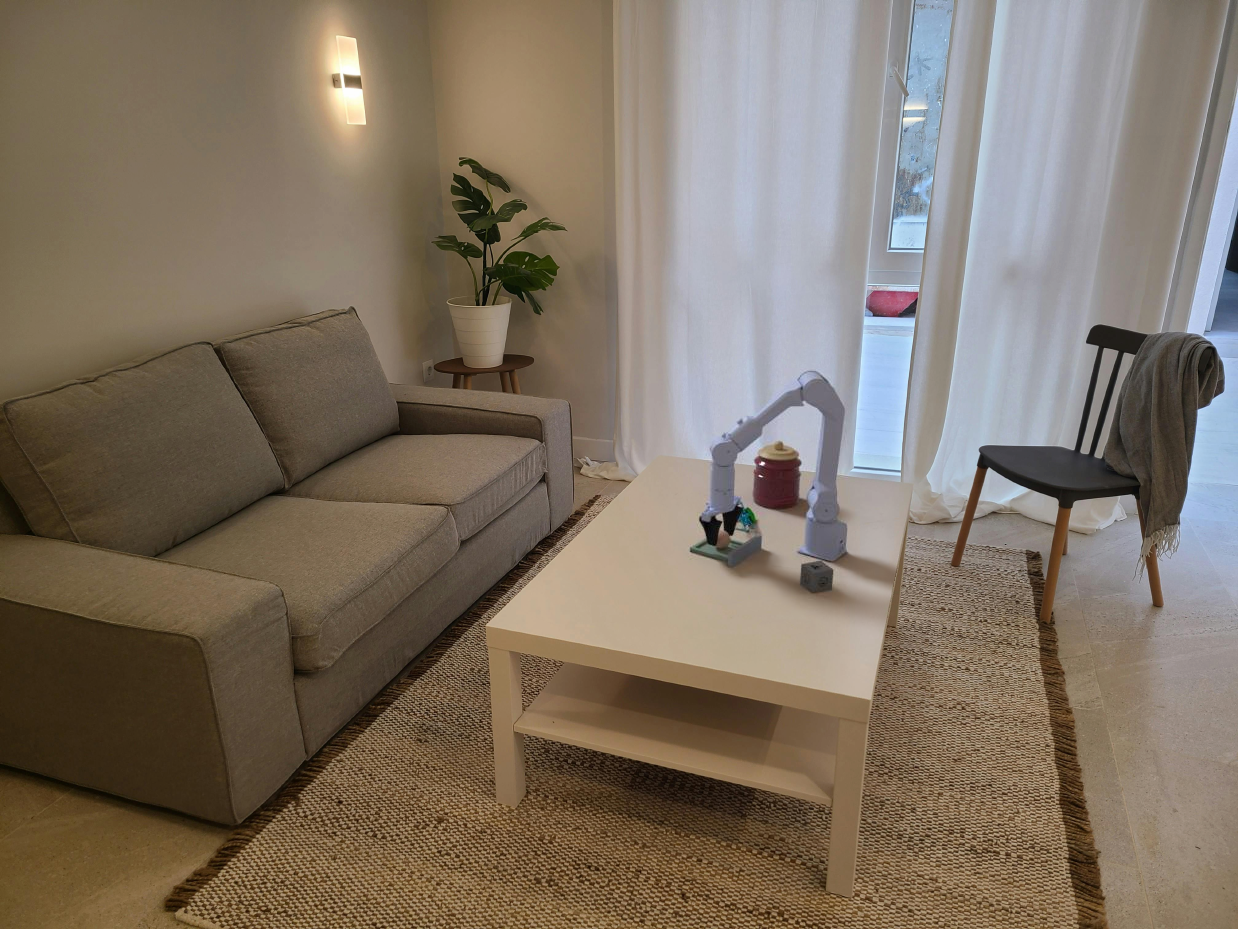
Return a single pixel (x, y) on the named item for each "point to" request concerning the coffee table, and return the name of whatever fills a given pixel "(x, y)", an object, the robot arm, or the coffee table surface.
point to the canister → (777, 476)
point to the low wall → (744, 550)
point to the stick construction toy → (747, 517)
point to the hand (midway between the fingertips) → (720, 539)
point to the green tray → (715, 550)
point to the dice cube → (816, 577)
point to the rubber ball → (723, 539)
